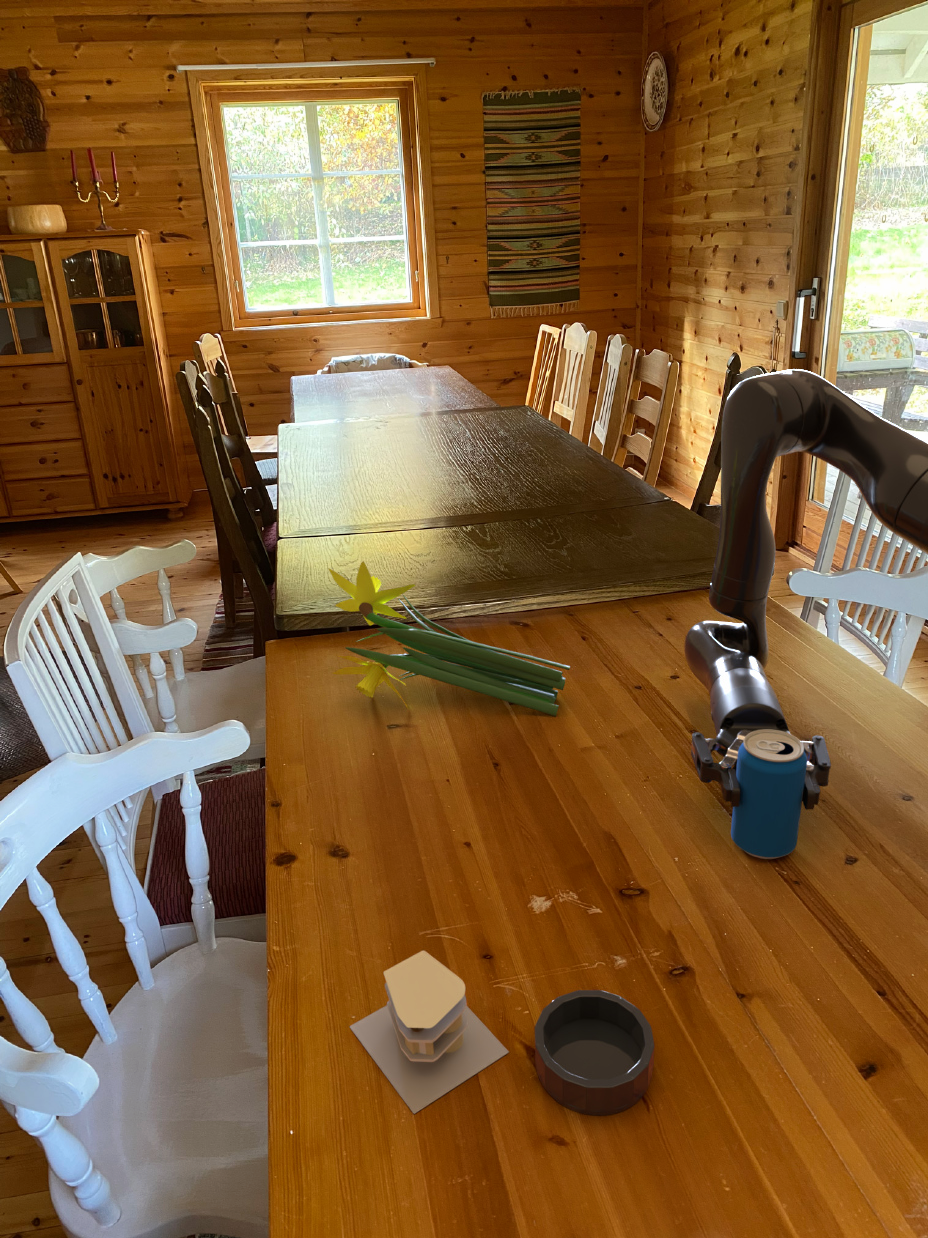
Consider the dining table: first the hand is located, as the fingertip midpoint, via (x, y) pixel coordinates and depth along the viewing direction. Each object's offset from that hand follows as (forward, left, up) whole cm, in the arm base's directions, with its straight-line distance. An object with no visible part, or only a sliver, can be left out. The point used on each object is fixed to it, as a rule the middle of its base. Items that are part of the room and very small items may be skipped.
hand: (773, 800), depth 89 cm
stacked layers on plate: (+22, +33, -7) cm, 40 cm away
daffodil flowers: (+45, -19, -7) cm, 49 cm away
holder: (+9, +30, -7) cm, 32 cm away
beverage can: (+1, -2, -7) cm, 8 cm away
